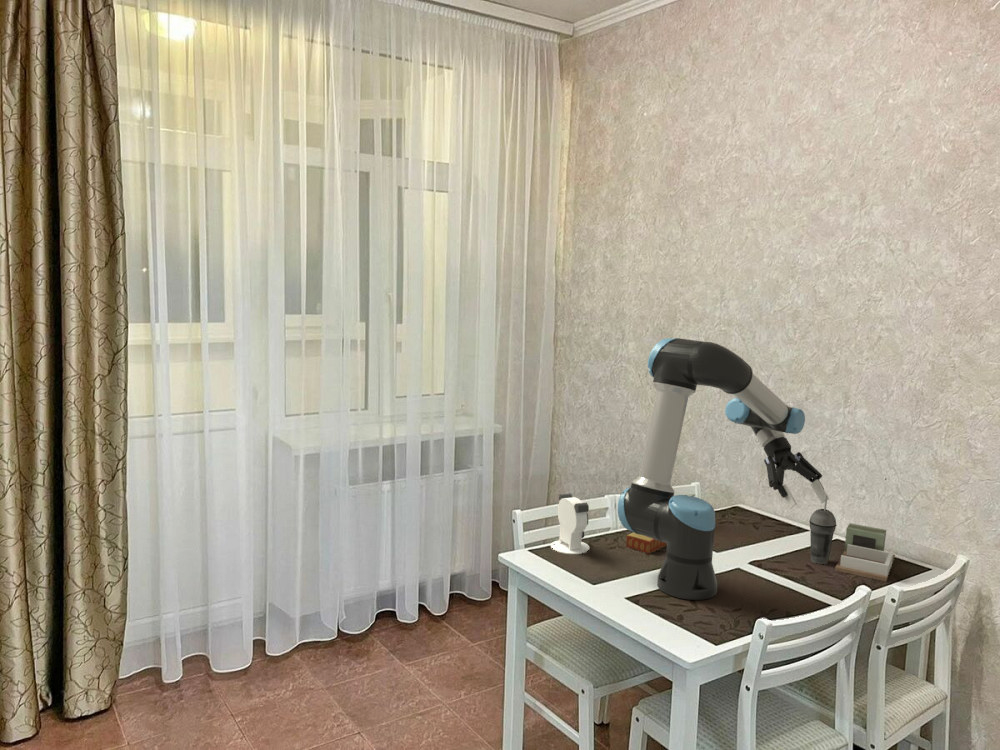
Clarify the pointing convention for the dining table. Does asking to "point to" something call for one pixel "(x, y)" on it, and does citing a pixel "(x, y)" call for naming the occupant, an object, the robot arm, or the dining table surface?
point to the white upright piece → (571, 525)
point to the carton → (643, 543)
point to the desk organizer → (867, 539)
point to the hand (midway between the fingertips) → (809, 503)
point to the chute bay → (865, 564)
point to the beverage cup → (821, 534)
